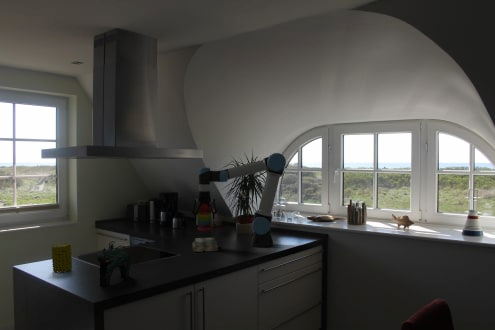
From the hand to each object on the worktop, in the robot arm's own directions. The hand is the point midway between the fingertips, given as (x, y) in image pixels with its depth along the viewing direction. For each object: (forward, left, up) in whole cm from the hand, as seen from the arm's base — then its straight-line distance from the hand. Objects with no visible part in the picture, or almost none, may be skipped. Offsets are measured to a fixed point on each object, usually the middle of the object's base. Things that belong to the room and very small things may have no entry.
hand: (204, 224), depth 261 cm
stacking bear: (0, 0, -4) cm, 4 cm away
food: (+78, +40, -17) cm, 89 cm away
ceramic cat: (+47, +64, -17) cm, 81 cm away
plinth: (0, 0, -16) cm, 16 cm away
